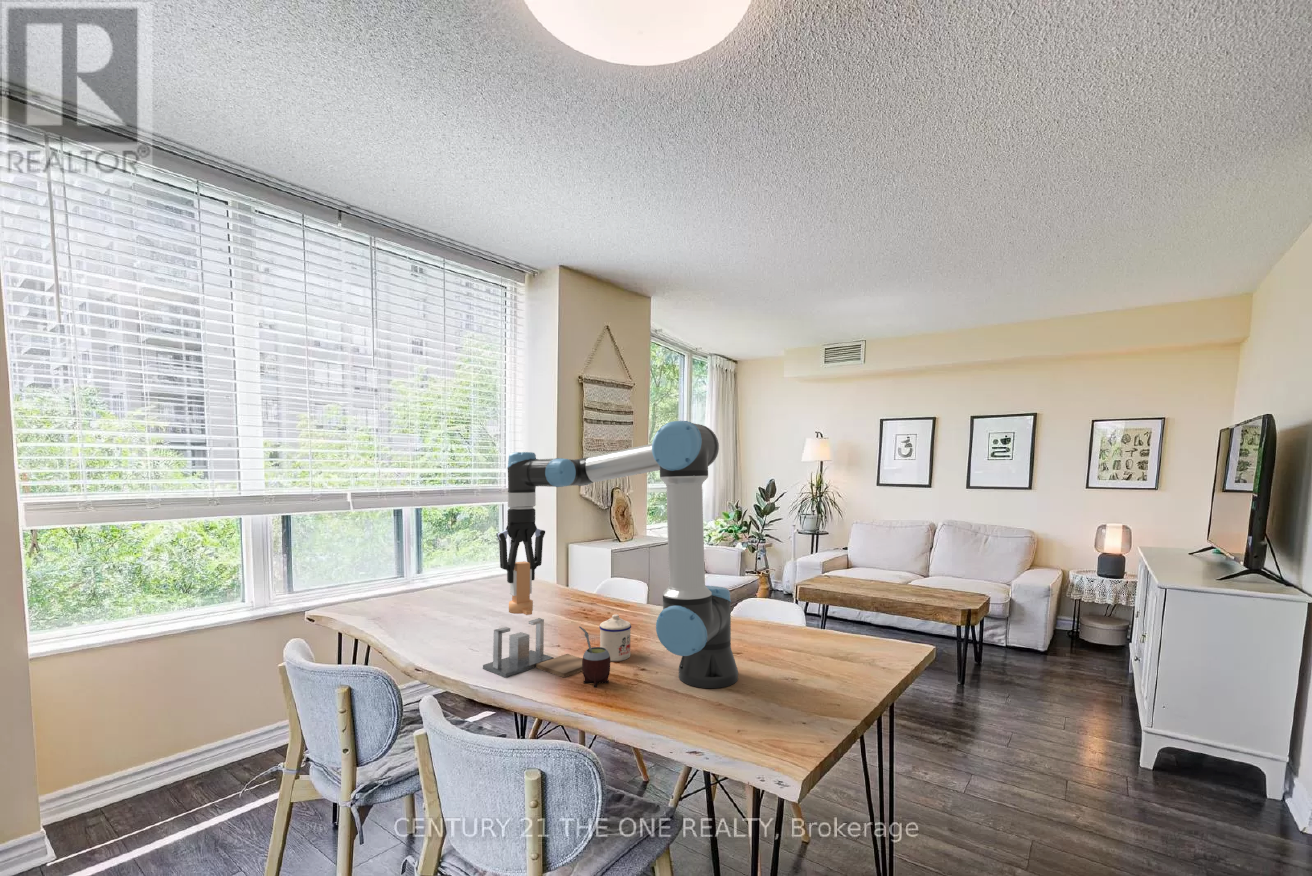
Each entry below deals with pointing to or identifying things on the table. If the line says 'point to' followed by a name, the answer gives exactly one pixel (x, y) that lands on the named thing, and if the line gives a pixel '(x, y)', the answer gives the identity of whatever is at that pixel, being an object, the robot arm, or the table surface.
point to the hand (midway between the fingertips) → (520, 593)
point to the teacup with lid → (616, 638)
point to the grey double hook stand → (517, 651)
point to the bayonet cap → (522, 590)
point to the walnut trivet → (562, 665)
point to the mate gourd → (595, 664)
